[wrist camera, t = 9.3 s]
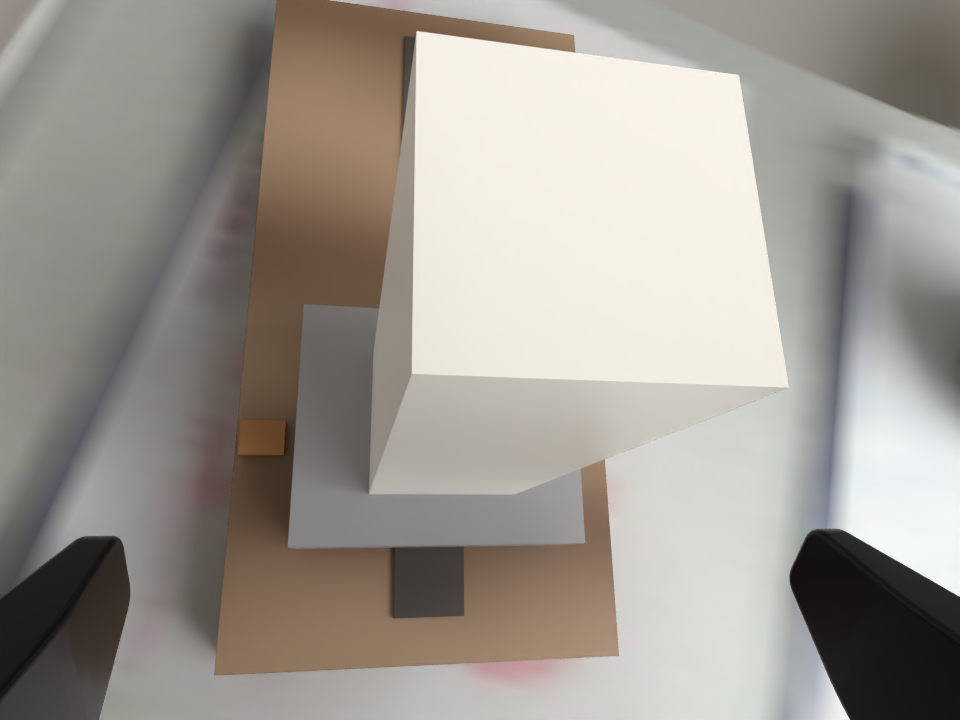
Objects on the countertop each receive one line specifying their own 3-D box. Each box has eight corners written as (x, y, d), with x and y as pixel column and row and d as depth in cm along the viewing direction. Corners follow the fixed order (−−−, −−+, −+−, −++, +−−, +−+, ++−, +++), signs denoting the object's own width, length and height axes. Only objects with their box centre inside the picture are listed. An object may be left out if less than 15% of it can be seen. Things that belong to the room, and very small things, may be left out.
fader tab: (556, 545, 16) (975, 515, 5) (294, 549, 14) (167, 521, 4) (546, 345, 17) (859, 11, 7) (308, 334, 16) (240, -90, 5)
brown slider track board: (589, 645, 17) (621, 656, 15) (230, 661, 15) (212, 676, 13) (554, 79, 22) (576, 30, 20) (283, 44, 21) (276, -13, 19)
